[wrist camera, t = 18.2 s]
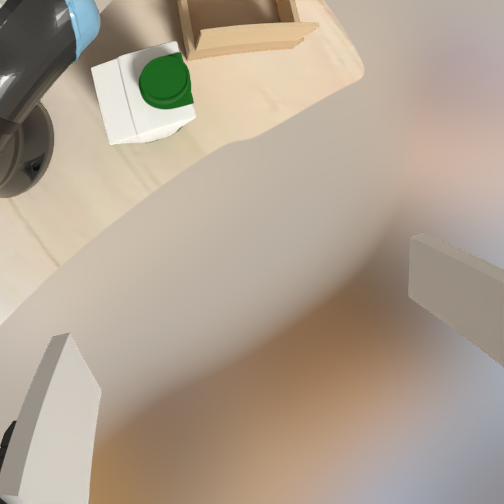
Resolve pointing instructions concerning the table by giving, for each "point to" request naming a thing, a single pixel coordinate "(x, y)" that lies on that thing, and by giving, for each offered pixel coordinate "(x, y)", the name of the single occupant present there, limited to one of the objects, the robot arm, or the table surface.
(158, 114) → the soya milk
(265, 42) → the wooden tray box
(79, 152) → the table surface
